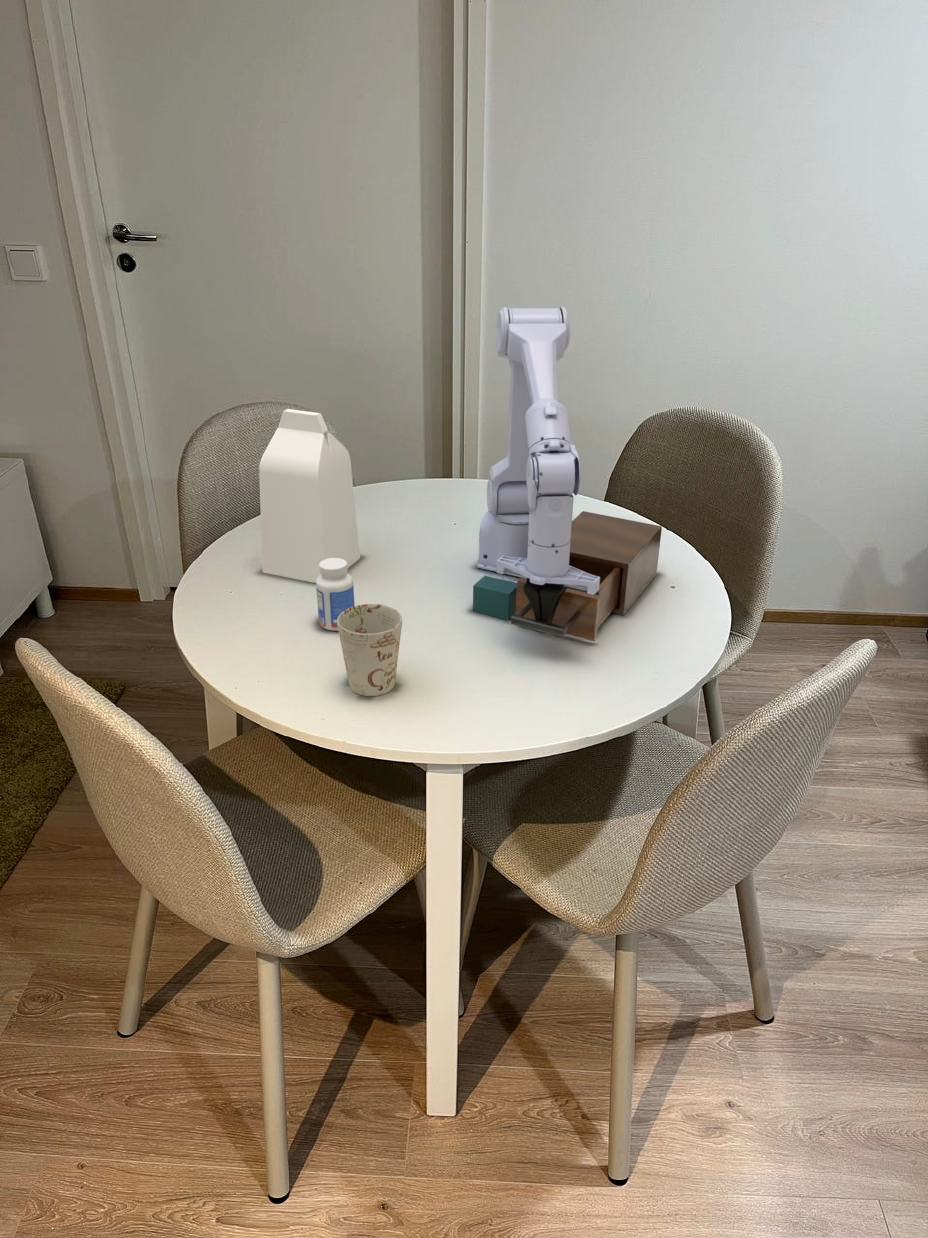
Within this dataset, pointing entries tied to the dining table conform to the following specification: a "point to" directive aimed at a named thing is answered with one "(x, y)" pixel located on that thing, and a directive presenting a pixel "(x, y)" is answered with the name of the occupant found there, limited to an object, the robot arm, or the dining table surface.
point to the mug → (370, 647)
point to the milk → (306, 499)
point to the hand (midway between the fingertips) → (544, 627)
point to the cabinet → (618, 550)
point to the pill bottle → (333, 591)
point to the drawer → (575, 604)
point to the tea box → (495, 597)
